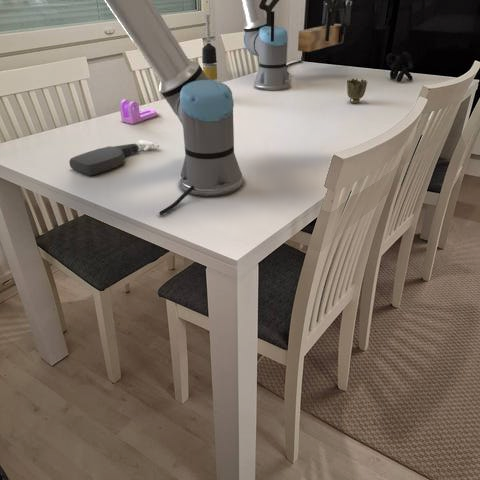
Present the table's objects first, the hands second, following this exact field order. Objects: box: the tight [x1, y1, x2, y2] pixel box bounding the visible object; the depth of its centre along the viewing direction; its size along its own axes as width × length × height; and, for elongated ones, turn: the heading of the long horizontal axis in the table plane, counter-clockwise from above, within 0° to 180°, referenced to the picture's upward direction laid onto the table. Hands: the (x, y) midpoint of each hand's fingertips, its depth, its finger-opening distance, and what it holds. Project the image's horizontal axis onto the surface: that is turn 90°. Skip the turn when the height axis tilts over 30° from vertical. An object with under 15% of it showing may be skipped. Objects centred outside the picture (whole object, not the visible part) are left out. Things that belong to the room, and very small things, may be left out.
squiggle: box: [385, 51, 414, 83], centre depth 198 cm, size 11×10×15 cm
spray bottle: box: [68, 139, 160, 177], centre depth 124 cm, size 3×11×24 cm
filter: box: [201, 14, 218, 81], centre depth 171 cm, size 6×6×30 cm
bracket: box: [118, 99, 158, 125], centre depth 156 cm, size 13×6×7 cm, turn 143°
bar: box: [297, 23, 345, 53], centre depth 199 cm, size 30×6×8 cm, turn 141°
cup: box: [346, 78, 368, 104], centre depth 168 cm, size 8×7×8 cm
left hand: (299, 40), depth 112 cm, fingers open, 13 cm apart
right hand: (334, 41), depth 208 cm, fingers closed on bar, 6 cm apart
